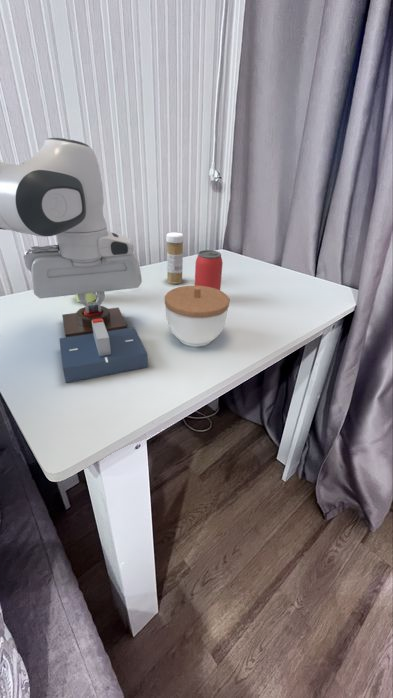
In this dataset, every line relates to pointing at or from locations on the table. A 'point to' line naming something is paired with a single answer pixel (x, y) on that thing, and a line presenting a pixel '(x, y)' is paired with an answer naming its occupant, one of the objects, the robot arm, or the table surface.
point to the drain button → (92, 314)
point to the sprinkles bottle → (174, 257)
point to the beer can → (208, 269)
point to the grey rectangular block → (101, 337)
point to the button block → (83, 325)
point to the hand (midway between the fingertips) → (93, 311)
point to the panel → (87, 363)
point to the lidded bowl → (196, 314)
